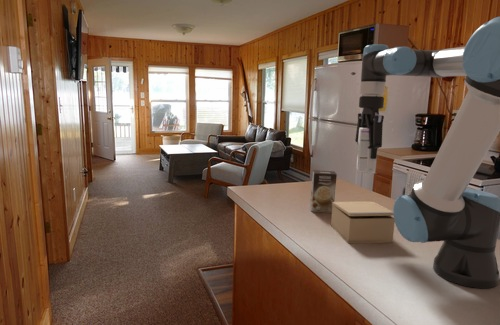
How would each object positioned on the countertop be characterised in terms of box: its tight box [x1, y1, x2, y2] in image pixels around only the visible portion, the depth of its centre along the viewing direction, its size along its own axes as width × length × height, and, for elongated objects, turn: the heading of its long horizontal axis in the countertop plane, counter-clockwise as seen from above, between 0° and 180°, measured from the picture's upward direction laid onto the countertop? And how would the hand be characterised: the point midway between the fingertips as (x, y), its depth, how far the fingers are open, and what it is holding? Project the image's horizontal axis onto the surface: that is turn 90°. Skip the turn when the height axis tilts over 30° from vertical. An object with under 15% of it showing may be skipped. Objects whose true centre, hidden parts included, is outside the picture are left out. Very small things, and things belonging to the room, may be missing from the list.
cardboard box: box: [330, 204, 395, 244], centre depth 123 cm, size 16×15×8 cm
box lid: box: [332, 200, 394, 217], centre depth 122 cm, size 16×15×1 cm
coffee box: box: [309, 169, 338, 214], centre depth 147 cm, size 9×6×16 cm
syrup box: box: [356, 128, 378, 174], centre depth 118 cm, size 6×6×14 cm
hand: (365, 166), depth 119 cm, fingers closed on syrup box, 7 cm apart
